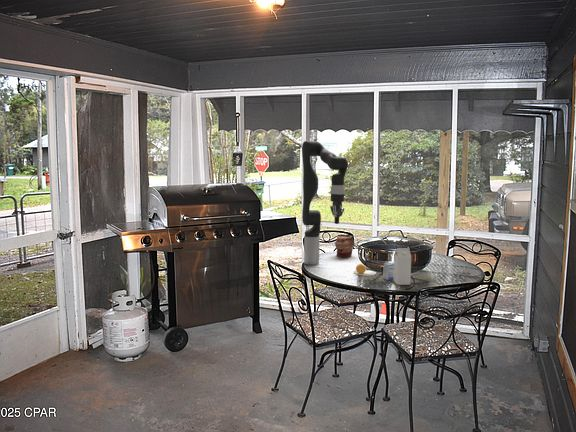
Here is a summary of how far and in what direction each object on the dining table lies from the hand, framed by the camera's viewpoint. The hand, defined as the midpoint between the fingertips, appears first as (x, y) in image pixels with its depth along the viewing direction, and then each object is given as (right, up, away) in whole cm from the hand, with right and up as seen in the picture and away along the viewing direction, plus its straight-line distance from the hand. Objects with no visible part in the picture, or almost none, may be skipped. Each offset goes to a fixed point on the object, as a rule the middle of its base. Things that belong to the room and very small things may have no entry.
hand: (336, 223), depth 282 cm
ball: (+14, -26, +5) cm, 30 cm away
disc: (+17, -29, +7) cm, 34 cm away
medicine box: (+29, -31, -5) cm, 43 cm away
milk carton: (+33, -32, -15) cm, 48 cm away
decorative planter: (+10, -23, +53) cm, 58 cm away
